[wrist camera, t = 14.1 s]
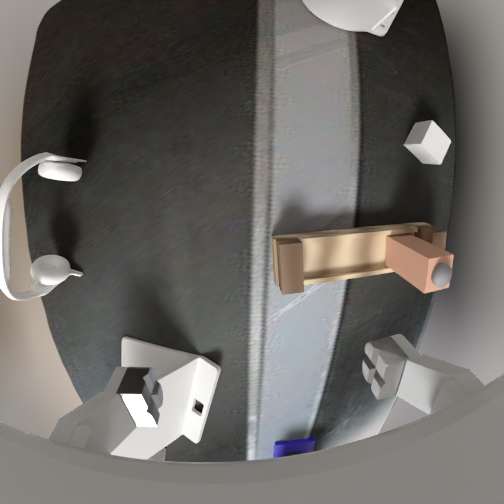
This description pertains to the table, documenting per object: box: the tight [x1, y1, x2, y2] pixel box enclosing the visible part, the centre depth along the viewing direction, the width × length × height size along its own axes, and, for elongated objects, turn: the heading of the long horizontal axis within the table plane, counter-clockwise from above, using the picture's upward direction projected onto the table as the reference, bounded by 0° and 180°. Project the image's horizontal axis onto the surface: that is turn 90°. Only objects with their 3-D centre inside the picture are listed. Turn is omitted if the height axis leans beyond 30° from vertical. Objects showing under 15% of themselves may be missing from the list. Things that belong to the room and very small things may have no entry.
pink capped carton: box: [385, 234, 454, 293], centre depth 34 cm, size 5×5×12 cm
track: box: [271, 222, 446, 295], centre depth 39 cm, size 27×7×7 cm, turn 95°
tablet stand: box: [111, 336, 221, 460], centre depth 40 cm, size 18×25×17 cm
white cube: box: [404, 120, 451, 165], centre depth 35 cm, size 5×5×5 cm
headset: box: [0, 152, 87, 301], centre depth 29 cm, size 20×7×18 cm, turn 163°
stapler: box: [273, 438, 316, 458], centre depth 55 cm, size 12×28×10 cm, turn 0°
